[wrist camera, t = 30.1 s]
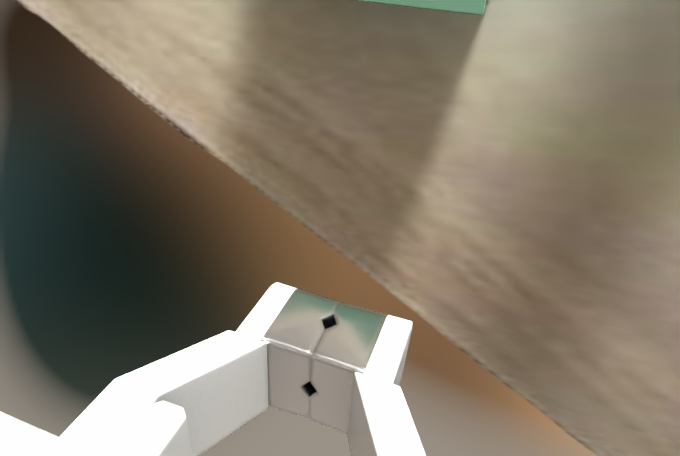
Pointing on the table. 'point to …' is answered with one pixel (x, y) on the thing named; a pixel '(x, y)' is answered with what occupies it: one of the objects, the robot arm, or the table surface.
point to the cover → (440, 5)
